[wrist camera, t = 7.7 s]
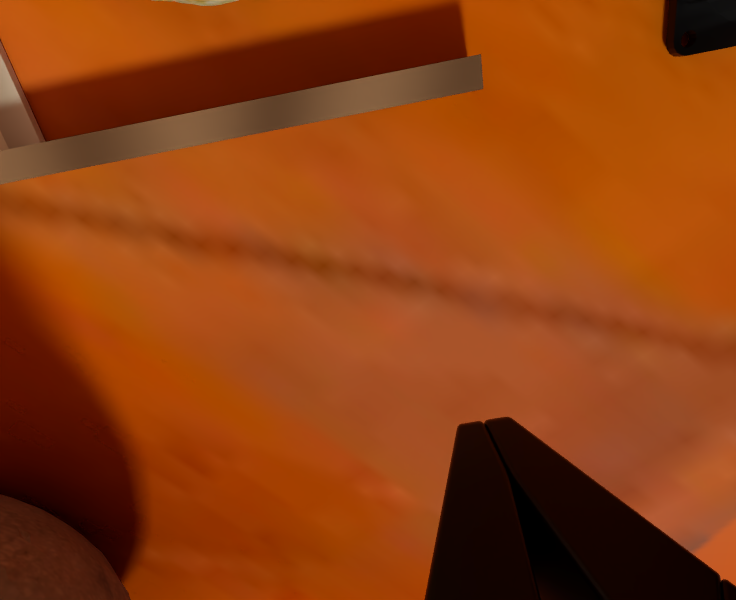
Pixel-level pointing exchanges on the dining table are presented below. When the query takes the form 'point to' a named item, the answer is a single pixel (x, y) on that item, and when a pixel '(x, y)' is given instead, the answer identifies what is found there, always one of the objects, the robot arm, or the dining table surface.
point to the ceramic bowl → (50, 559)
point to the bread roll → (202, 2)
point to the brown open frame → (212, 118)
